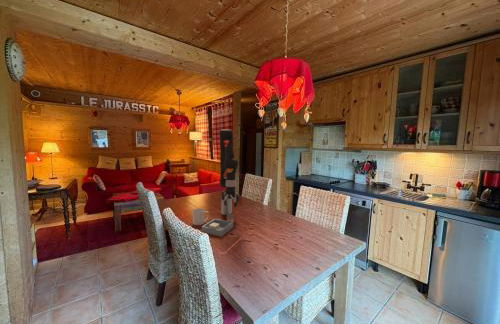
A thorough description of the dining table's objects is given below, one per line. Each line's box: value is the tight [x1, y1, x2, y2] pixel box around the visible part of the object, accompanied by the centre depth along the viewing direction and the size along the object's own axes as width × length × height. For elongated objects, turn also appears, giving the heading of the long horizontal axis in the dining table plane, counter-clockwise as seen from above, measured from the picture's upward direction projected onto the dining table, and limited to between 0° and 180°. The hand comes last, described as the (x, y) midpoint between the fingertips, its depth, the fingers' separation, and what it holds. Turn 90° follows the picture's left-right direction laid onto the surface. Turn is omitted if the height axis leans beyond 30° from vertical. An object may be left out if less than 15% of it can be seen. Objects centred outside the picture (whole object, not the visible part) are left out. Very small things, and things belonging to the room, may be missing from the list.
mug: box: [192, 208, 209, 226], centre depth 161 cm, size 12×9×11 cm
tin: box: [226, 213, 235, 225], centre depth 159 cm, size 5×5×8 cm
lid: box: [209, 223, 220, 227], centre depth 144 cm, size 5×5×1 cm
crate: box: [201, 218, 234, 237], centre depth 149 cm, size 17×16×5 cm
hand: (230, 206), depth 158 cm, fingers open, 8 cm apart
